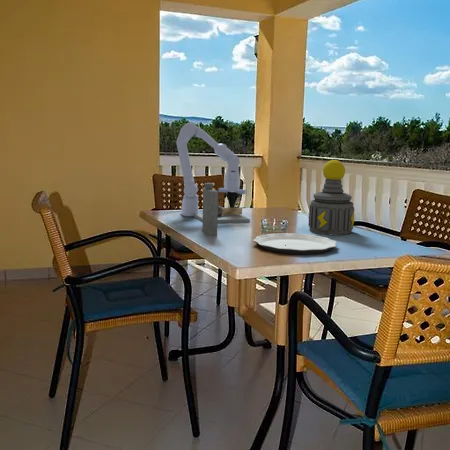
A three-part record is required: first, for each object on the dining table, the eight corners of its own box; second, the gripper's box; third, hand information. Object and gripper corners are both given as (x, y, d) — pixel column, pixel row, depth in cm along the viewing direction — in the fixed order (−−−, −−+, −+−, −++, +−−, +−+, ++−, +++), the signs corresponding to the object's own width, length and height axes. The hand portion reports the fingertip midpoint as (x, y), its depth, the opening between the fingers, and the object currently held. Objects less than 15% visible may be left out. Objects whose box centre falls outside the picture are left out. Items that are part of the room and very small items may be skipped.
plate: (271, 258, 168) (271, 251, 168) (243, 240, 196) (243, 234, 195) (351, 254, 176) (352, 247, 176) (313, 238, 204) (314, 232, 204)
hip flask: (217, 236, 202) (219, 184, 198) (207, 236, 201) (208, 184, 197) (209, 228, 217) (210, 181, 214) (199, 229, 216) (200, 181, 213)
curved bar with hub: (204, 216, 238) (204, 205, 237) (201, 214, 243) (201, 204, 242) (243, 215, 244) (243, 204, 243) (239, 213, 249) (239, 203, 248)
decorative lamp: (343, 237, 206) (348, 161, 201) (300, 231, 216) (304, 159, 211) (359, 230, 222) (364, 160, 216) (318, 225, 231) (321, 158, 226)
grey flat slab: (193, 216, 248) (193, 213, 248) (236, 215, 256) (236, 212, 255) (205, 223, 230) (205, 219, 230) (251, 222, 237) (251, 218, 237)
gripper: (215, 179, 249) (215, 207, 251) (242, 181, 242) (241, 210, 244) (222, 178, 255) (222, 205, 258) (249, 180, 248) (248, 208, 250)
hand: (232, 207), depth 251 cm, fingers closed
